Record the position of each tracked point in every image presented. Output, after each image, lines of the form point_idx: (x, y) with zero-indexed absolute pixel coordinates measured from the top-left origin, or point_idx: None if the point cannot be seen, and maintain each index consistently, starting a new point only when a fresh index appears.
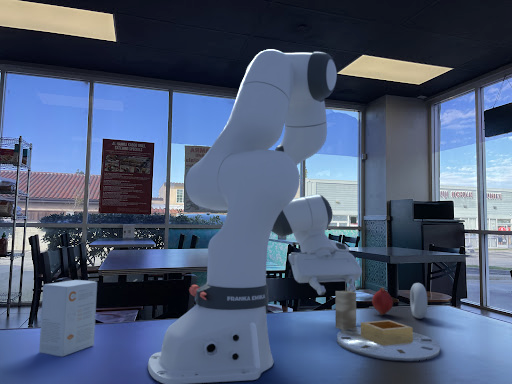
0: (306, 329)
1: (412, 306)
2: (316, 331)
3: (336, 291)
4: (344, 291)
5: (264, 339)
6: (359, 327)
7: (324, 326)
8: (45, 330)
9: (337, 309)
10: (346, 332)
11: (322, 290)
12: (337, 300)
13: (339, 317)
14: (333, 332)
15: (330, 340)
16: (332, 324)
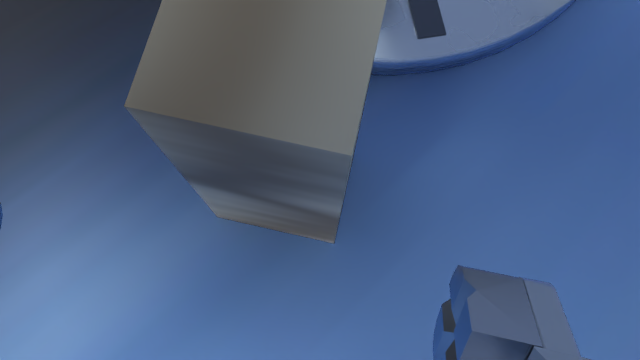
0: (583, 310)
1: None
2: (547, 228)
3: (353, 136)
4: (242, 84)
5: None
6: None
7: (393, 306)
8: None
9: (347, 180)
10: (480, 3)
11: (523, 280)
12: (353, 151)
13: (350, 168)
14: (453, 148)
15: (596, 35)
16: (288, 320)
